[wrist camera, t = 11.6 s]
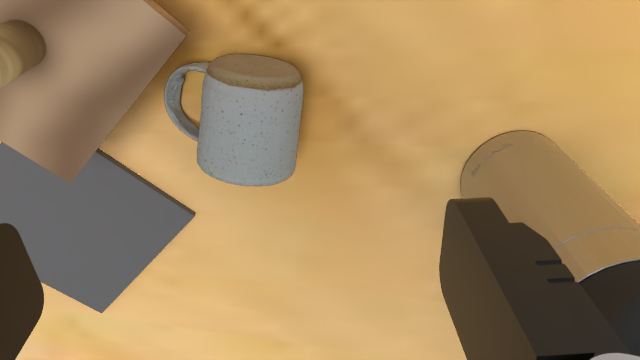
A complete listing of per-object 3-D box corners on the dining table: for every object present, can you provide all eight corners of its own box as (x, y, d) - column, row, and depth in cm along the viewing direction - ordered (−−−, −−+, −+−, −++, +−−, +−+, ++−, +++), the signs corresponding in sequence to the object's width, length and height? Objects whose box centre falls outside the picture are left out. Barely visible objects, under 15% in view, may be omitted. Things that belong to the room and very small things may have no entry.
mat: (195, 212, 45) (194, 216, 44) (103, 308, 50) (101, 313, 50) (29, 103, 39) (25, 106, 38) (-54, 226, 44) (-59, 230, 44)
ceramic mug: (306, 55, 38) (307, 88, 31) (295, 148, 42) (293, 196, 35) (167, 38, 37) (138, 69, 30) (170, 135, 41) (144, 181, 34)
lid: (189, 31, 31) (163, 65, 24) (76, 175, 35) (30, 234, 29) (-33, -153, 25) (-140, -169, 19) (-131, 45, 30) (-241, 84, 24)
